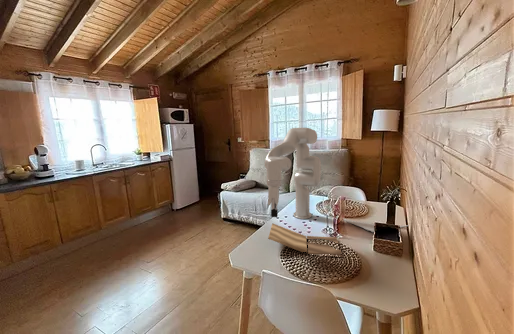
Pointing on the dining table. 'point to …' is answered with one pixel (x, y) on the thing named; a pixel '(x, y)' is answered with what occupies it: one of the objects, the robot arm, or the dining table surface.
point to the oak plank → (288, 238)
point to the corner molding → (365, 225)
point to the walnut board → (322, 246)
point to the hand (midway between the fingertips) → (274, 216)
